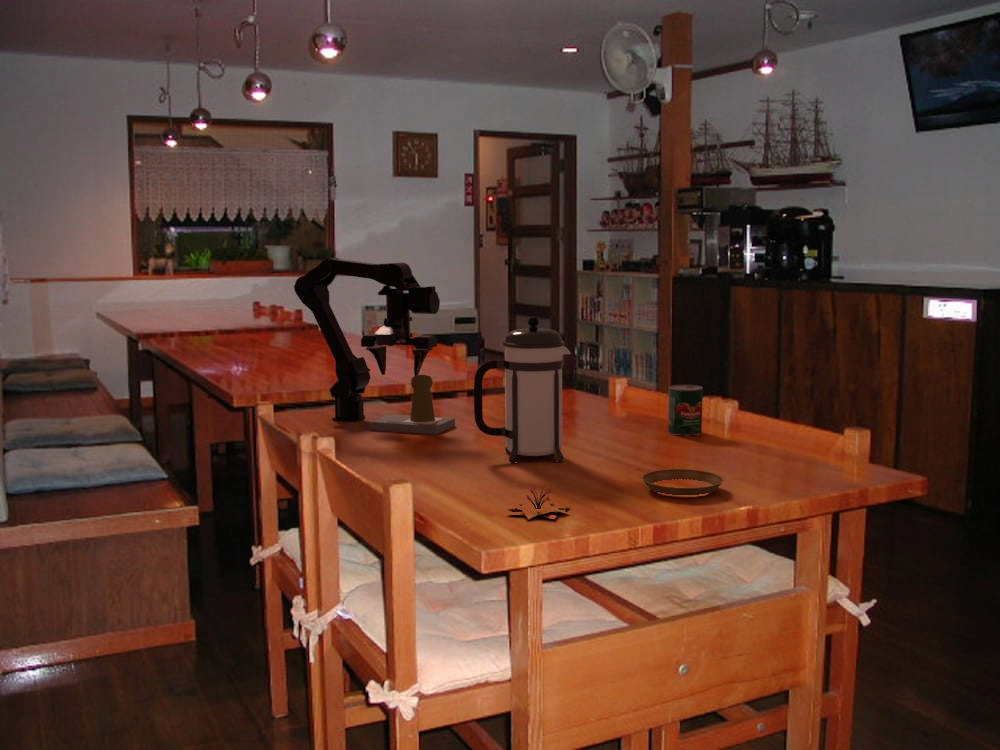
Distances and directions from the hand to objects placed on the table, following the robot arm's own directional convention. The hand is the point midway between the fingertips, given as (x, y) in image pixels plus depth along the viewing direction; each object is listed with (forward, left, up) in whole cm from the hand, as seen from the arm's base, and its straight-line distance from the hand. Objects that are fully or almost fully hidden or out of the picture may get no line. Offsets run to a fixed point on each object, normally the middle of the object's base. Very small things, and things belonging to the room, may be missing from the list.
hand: (399, 375), depth 253 cm
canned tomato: (+70, +10, -12) cm, 72 cm away
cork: (+9, -5, -10) cm, 14 cm away
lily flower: (+60, -66, -13) cm, 90 cm away
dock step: (+6, -5, -12) cm, 14 cm away
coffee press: (+44, -27, -12) cm, 53 cm away
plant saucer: (+80, -43, -12) cm, 92 cm away
